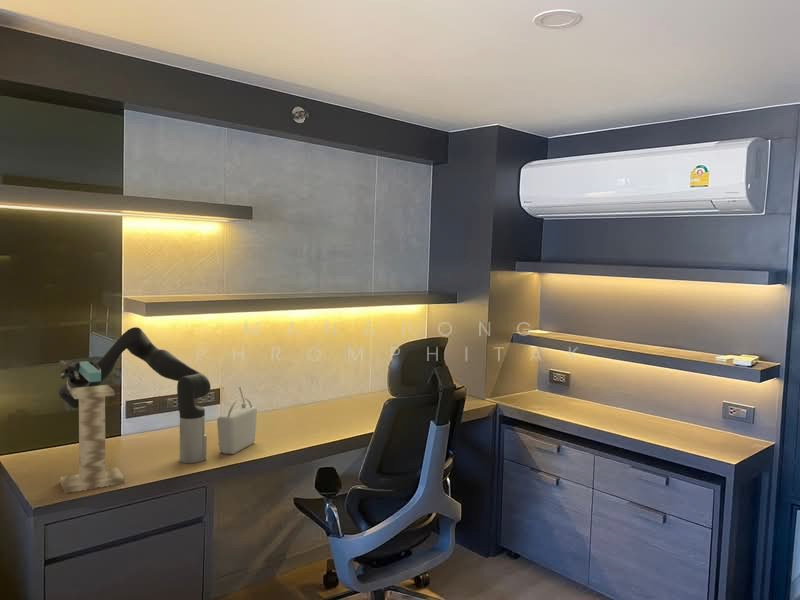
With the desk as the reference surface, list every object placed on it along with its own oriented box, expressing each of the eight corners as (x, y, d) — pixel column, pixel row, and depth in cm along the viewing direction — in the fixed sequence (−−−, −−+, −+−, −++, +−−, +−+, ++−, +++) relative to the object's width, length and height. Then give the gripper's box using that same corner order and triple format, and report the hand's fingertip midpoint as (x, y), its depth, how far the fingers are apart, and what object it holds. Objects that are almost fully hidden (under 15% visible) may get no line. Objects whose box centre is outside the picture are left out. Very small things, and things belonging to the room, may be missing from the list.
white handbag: (240, 439, 261) (241, 383, 260) (258, 441, 259) (258, 384, 258) (212, 454, 240) (213, 392, 239) (231, 456, 238) (231, 394, 237)
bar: (87, 369, 221) (87, 361, 221) (101, 381, 200) (101, 372, 200) (77, 370, 219) (76, 362, 219) (89, 382, 198) (89, 373, 198)
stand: (117, 473, 217) (116, 384, 215) (124, 483, 207) (124, 390, 205) (60, 482, 206) (59, 389, 204) (65, 493, 196) (64, 395, 195)
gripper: (56, 373, 225) (61, 355, 212) (98, 370, 233) (105, 353, 221) (58, 392, 222) (63, 375, 209) (100, 388, 230) (107, 372, 218)
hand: (85, 364), depth 215 cm, fingers closed on bar, 3 cm apart
